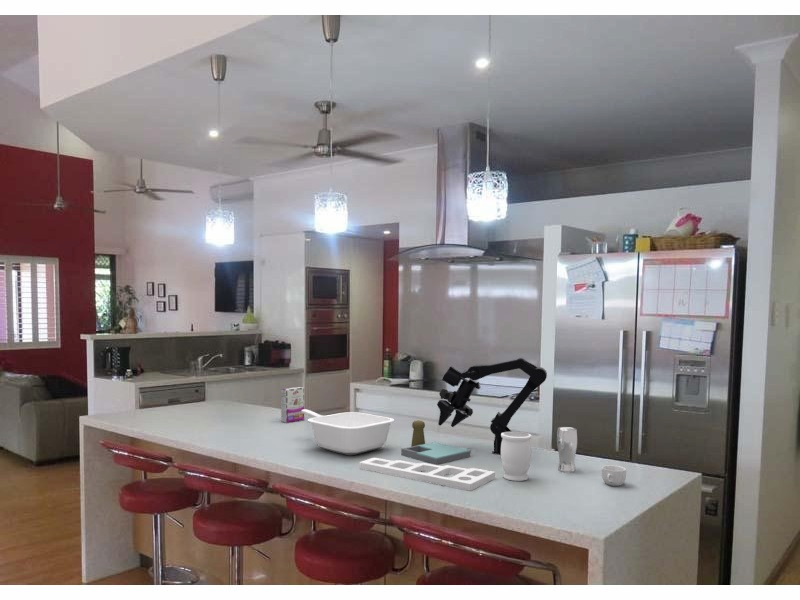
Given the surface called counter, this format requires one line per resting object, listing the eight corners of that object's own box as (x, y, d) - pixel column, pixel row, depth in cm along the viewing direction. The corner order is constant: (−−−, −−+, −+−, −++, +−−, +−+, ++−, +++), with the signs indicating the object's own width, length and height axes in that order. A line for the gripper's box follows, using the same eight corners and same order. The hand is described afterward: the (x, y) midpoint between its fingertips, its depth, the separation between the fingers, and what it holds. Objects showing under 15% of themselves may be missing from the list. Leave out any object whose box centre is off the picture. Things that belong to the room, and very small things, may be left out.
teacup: (606, 479, 215) (606, 463, 215) (629, 483, 211) (629, 467, 211) (596, 486, 207) (596, 470, 207) (619, 490, 203) (619, 473, 203)
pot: (349, 462, 235) (350, 428, 235) (276, 443, 264) (276, 413, 264) (400, 449, 256) (400, 418, 256) (327, 433, 286) (327, 405, 286)
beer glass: (577, 469, 229) (577, 427, 229) (576, 473, 222) (576, 431, 222) (557, 467, 231) (558, 426, 231) (555, 472, 224) (556, 429, 224)
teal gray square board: (470, 456, 245) (470, 450, 245) (436, 464, 233) (436, 457, 233) (435, 447, 259) (435, 441, 259) (401, 455, 247) (401, 448, 247)
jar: (531, 483, 210) (531, 438, 210) (499, 481, 212) (500, 436, 212) (531, 474, 220) (531, 431, 220) (501, 473, 222) (501, 430, 222)
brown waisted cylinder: (413, 445, 264) (413, 419, 264) (427, 446, 262) (427, 420, 262) (409, 448, 258) (409, 421, 258) (423, 449, 256) (423, 422, 256)
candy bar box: (298, 419, 320) (298, 386, 320) (304, 420, 316) (304, 387, 316) (280, 421, 311) (280, 388, 311) (286, 423, 308) (287, 389, 308)
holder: (358, 469, 226) (358, 462, 226) (388, 459, 241) (388, 452, 241) (470, 492, 201) (470, 484, 201) (495, 479, 216) (495, 471, 216)
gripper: (462, 385, 268) (444, 416, 270) (437, 380, 254) (419, 413, 256) (481, 399, 261) (463, 431, 263) (456, 394, 246) (437, 428, 248)
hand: (445, 425), depth 258 cm, fingers open, 9 cm apart
